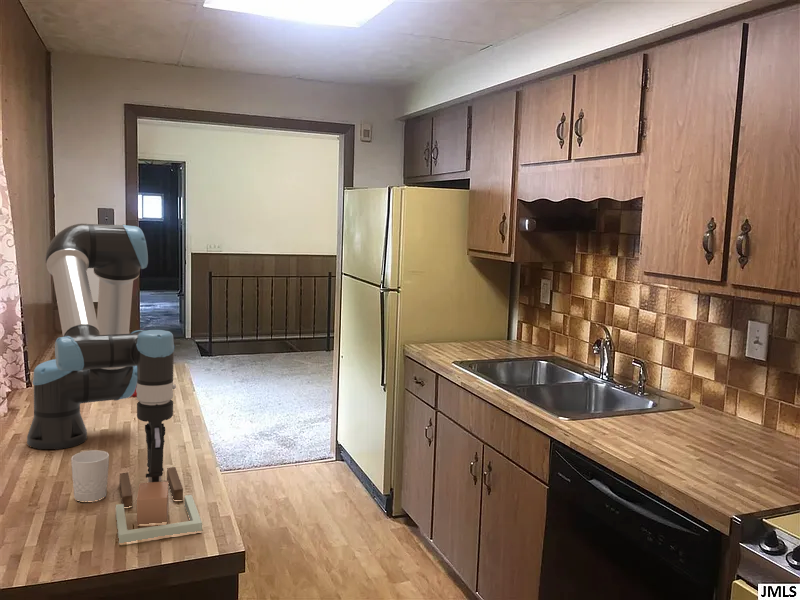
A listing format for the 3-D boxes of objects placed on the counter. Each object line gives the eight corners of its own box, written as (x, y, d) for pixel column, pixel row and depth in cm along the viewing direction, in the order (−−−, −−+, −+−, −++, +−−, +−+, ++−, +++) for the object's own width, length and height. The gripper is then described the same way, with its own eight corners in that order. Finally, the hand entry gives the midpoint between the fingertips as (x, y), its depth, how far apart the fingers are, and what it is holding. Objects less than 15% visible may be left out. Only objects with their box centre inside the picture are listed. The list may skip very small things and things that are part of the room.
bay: (119, 546, 132) (119, 535, 132) (115, 515, 145) (115, 504, 145) (201, 533, 139) (202, 522, 139) (191, 504, 152) (191, 494, 152)
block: (137, 527, 140) (136, 499, 138) (139, 509, 146) (139, 483, 143) (167, 524, 142) (167, 497, 140) (168, 507, 147) (168, 481, 145)
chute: (122, 509, 148) (122, 496, 147) (119, 485, 160) (119, 473, 160) (182, 501, 154) (183, 488, 153) (175, 478, 166) (175, 466, 166)
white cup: (114, 490, 157) (114, 450, 156) (100, 505, 149) (100, 463, 148) (81, 489, 157) (80, 449, 155) (65, 503, 149) (64, 461, 148)
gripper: (176, 407, 141) (175, 511, 143) (169, 391, 152) (168, 488, 155) (139, 410, 137) (138, 516, 140) (134, 394, 149) (134, 493, 152)
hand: (154, 502), depth 148 cm, fingers closed
